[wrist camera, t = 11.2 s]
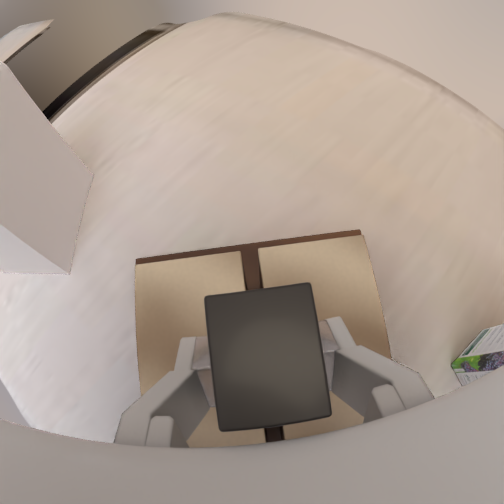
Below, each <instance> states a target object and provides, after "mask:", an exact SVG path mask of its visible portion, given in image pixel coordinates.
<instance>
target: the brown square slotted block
mask: <svg viewBox="0 0 504 504" xmlns="http://www.w3.org/2000/svg"><path fill="white" fill-rule="evenodd" d="M304 282H310V283H311V285H312V290H313V295H314V301H315V306H316V312H317V317H318V321H321V320H325V319H328V318H333V317H338V316H339V317H341V318H342V320H343V322H344V323H345V325H346V327H347V329H348V331H349V333H350V334H351V336H352V338H353V340H354V342H355V344H356V345H357V346H359V345H362V346H364V347H366V348H368V349H370V350H372V351H374V352H376V353H378V354H380V355H382V356H384V357H386V358H388V359H390V360H392V359H391V353H390V347H389V342H388V336H387V331H386V326H385V321H384V316H383V312H382V307H381V302H380V298H379V294H378V289H377V285H376V281H375V277H374V273H373V269H372V265H371V261H370V258H369V254H368V250H367V247H366V243H365V240H364V236H363V235H361V231H360V230H351V231H343V232H335V233H327V234H320V235H312V236H304V237H296V238H288V239H281V240H273V241H265V242H258V243H250V244H242V245H235V246H227V247H220V248H212V249H205V250H198V251H190V252H183V253H176V254H168V255H161V256H154V257H147V258H140V259H136V265H135V317H136V340H137V356H138V369H139V380H140V389H141V396H142V395H144V394H145V393H146V392H147V391H148V390H149V389H150V388H151V387H153V386H154V385H155V384H156V383H157V382H158V381H159V380H160V379H161V378H163V377H164V376H165V375H166V374H167V373H168V372H169V371H174V368H175V363H176V358H177V353H178V348H179V344H180V340H181V339H182V337H194V336H196V337H197V336H207V328H206V318H205V307H204V297H205V296H207V295H215V294H223V293H231V292H239V291H247V290H254V289H262V288H269V287H276V286H283V285H290V284H297V283H304ZM329 393H330V400H331V408H332V415H331V416H330V417H327V418H323V419H318V420H313V421H308V422H302V423H296V424H290V425H284V426H277V427H270V428H262V429H253V430H243V431H232V432H221V431H220V430H219V427H218V421H217V413H216V407H210V409H209V411H208V412H207V414H206V415H205V417H204V418H203V419H202V421H201V422H200V423H199V425H198V426H197V428H196V429H195V430H194V432H193V433H192V435H191V436H190V437H189V439H188V440H187V441H186V442H187V444H188V446H189V447H190V448H200V447H225V446H239V445H250V444H260V443H268V442H276V441H283V440H289V439H295V438H301V437H307V436H312V435H317V434H322V433H327V432H331V431H335V430H340V429H344V428H348V427H352V426H355V425H359V424H363V421H364V417H363V416H362V415H360V414H359V413H358V412H357V411H355V410H354V409H353V408H351V407H350V406H349V405H348V404H346V403H345V402H344V401H343V400H341V399H340V398H339V397H337V396H336V395H335V394H334V393H332V391H329Z"/></svg>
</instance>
